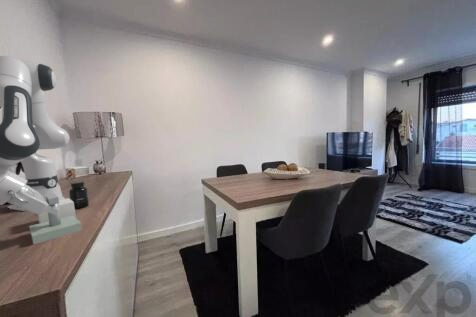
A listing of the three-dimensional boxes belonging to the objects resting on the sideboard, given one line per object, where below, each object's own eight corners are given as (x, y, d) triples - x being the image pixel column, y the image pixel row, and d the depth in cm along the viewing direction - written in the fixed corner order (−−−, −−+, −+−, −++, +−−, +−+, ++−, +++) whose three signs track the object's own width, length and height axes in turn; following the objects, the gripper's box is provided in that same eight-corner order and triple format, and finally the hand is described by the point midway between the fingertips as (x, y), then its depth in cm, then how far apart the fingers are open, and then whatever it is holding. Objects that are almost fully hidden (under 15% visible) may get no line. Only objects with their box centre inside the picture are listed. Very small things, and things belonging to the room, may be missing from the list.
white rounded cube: (38, 221, 80) (36, 204, 80) (70, 213, 88) (68, 198, 87) (41, 228, 74) (38, 209, 73) (76, 219, 81) (73, 202, 81)
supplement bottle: (79, 209, 93) (75, 184, 91) (67, 209, 94) (63, 184, 93) (92, 204, 99) (89, 180, 98) (81, 204, 101) (78, 180, 99)
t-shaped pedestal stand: (30, 233, 70) (25, 197, 68) (74, 221, 79) (70, 189, 77) (33, 244, 62) (27, 204, 60) (82, 230, 71) (77, 194, 69)
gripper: (19, 184, 56) (69, 208, 64) (17, 177, 70) (58, 198, 78) (-3, 205, 53) (52, 227, 62) (-1, 193, 67) (44, 212, 75)
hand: (55, 210), depth 70 cm, fingers open, 4 cm apart
